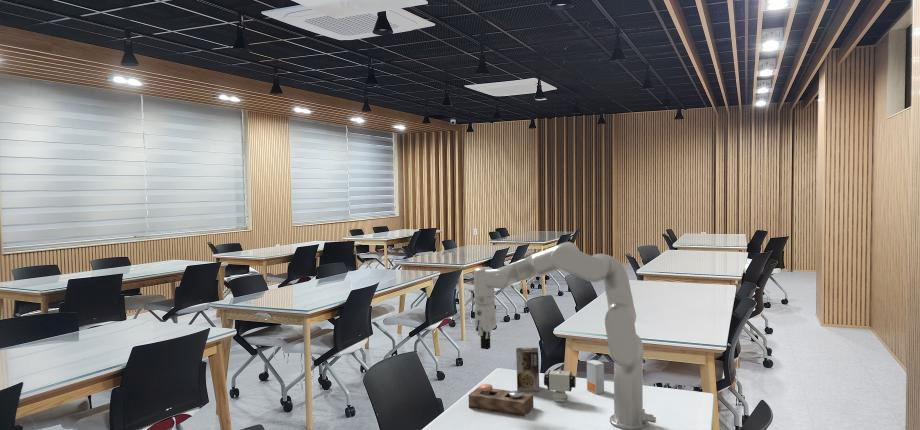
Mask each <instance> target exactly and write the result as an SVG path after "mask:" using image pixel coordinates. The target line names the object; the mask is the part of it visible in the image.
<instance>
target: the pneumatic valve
mask: <svg viewBox="0 0 920 430" xmlns="http://www.w3.org/2000/svg"><path fill="white" fill-rule="evenodd" d="M543 384H544V386H546V388H547V390H548V391H554V392H552V399H553V400H554V402H556V403H565V402H566V401H567V400H568V393H566V392H572V389H573V388H575V389H576V385H577V379H576V375H574V374H573V371H566V370H561V369H558V370H550V369H549V370H548V372H547V373H544V376H543Z"/></svg>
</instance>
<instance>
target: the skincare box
mask: <svg viewBox="0 0 920 430" xmlns="http://www.w3.org/2000/svg"><path fill="white" fill-rule="evenodd" d="M586 390H587V391H589V392H591V393H593V394H594V395H600V394H604V393H605V364H604V363H603V362H602V361H599V360H596V359H590V360H586Z"/></svg>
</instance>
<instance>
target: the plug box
mask: <svg viewBox="0 0 920 430" xmlns="http://www.w3.org/2000/svg"><path fill="white" fill-rule="evenodd" d="M511 391H512V390H506V389H499V388H493V387H492V390H491V391H490V395H487V394H483V391H481V390H480V386H478V387H477V388H475V389H474V390H473V391H471V393H469V394H468V408H469V409H475V410H480V411H484V412H485V411H487V412H492V413H499V414H505V415H511V416H517V417H523V418H525V417H526V415H527V414H528V413H529V412H531V411H532V410H533V408H534V394H533V393H527V392H522V397H521V398H519V399H515V398H511V397H510V396H509V392H511Z"/></svg>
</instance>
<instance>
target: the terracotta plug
mask: <svg viewBox="0 0 920 430" xmlns="http://www.w3.org/2000/svg"><path fill="white" fill-rule="evenodd" d="M479 387H480V390H481V391H483V394H487V395H490V391H491V390H492V388H493V385H492V384H490V383H489V384H488V383H484V384H483V383H481V384H480V385H479Z"/></svg>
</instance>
